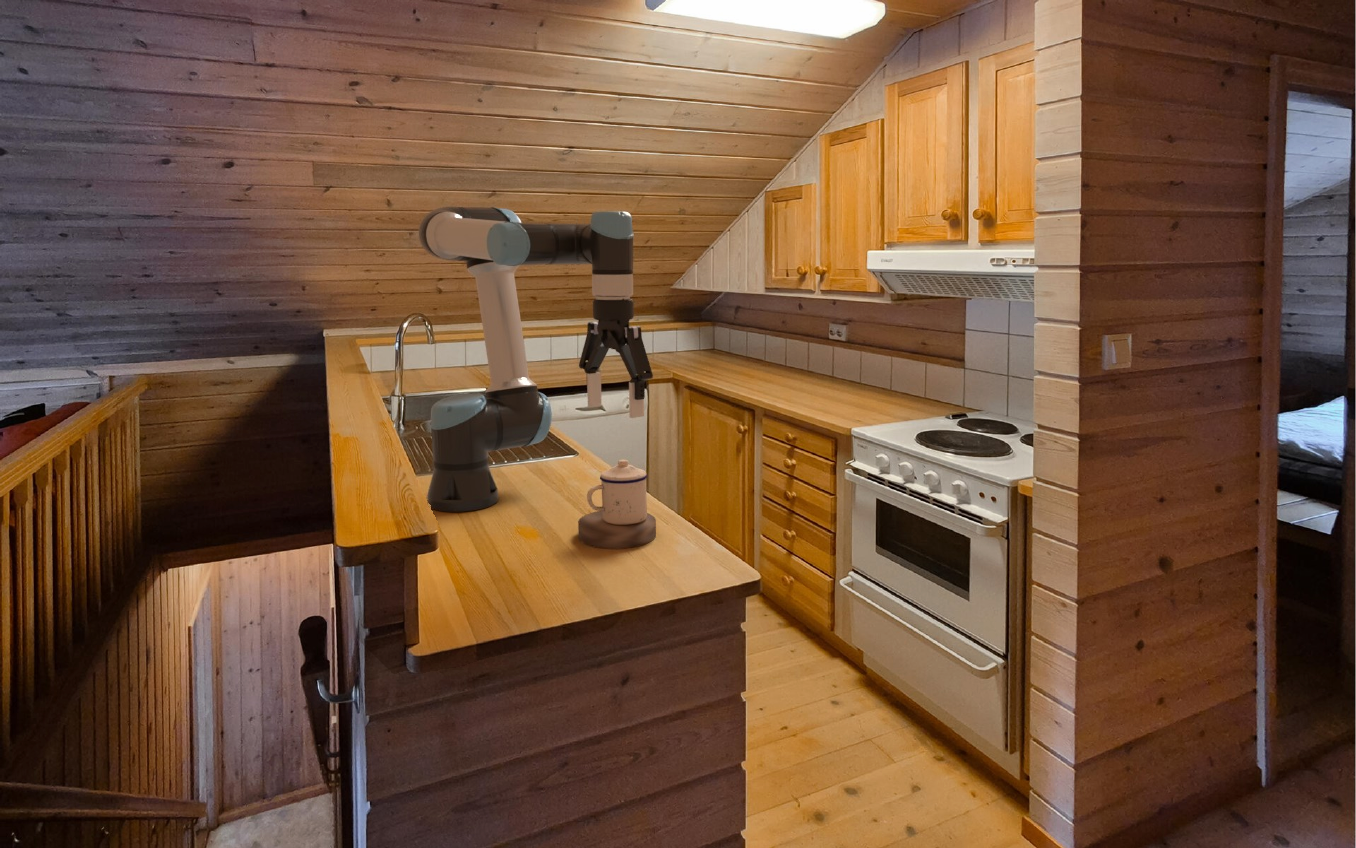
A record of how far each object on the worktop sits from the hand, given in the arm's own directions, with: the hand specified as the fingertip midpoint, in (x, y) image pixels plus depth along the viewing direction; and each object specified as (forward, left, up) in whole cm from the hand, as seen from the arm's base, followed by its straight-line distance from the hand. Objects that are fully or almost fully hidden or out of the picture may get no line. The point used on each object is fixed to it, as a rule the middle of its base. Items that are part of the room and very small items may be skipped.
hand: (615, 411), depth 160 cm
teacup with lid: (0, 0, -22) cm, 22 cm away
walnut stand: (0, 0, -24) cm, 25 cm away
